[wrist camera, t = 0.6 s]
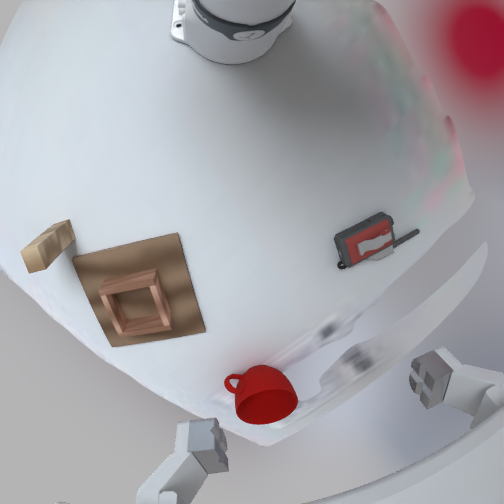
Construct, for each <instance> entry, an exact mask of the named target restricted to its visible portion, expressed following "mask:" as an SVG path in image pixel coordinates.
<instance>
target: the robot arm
mask: <svg viewBox="0 0 504 504" xmlns="http://www.w3.org/2000/svg"><path fill="white" fill-rule="evenodd" d="M295 1H296V0H174V6H173V14H172V22H171V32H170V35H171V37H172V38H173V39H174V40H177V41H179V42H182V43H186V44H188V45H189V46H191V47H192V48H193V49H194V50H195V51H196V52H198V53H199V54H200V55H202V56H203V57H205V58H207V59H209V60H211V61H214V62H218V63H223V64H241V63H246V62H249V61H252V60H255V59H257V58H259V57H260V56H262V55H263V54H265V53H266V52H267V51H268V50H269V49H270V48H271V47H272V45H273V44H274V42H275V40H276V38H277V37H278V35H279V34H280V33H282V32H283V31H285V30H286V29H288V28H289V27H290V25H291V23H292V19H291V17H290V16H291V14H292V13H293V11H294V4H295ZM177 25H182V26H181V27H180V28H177V27H176V26H177ZM411 367H412V368H413V370H412V372H411V373H410V376H409V381H410V386H411V388H412V390H413V391H414V393H416V394H419V395H420V401H421V402H422V403H423V405H424V406H425V407H426V409H429V408H431V407H433V406H435V405H437V404H439V403H441V402H443V403H445V404H448V405H450V406H452V407H454V408H456V409H459V410H461V411H463V412H465V413H468V414H470V415H472V416H475V417H474V419H473V421H472V423H471V425H470V428H471V430H470V431H469V432H467V433H465V434H464V435H462V436H461V437H459V438H458V439H456V440H454V441H453V442H451V443H450V444H448V445H446V446H445V447H443V448H441V449H440V450H438V451H436V452H434V453H432V454H431V455H429V456H427V457H425V458H423V459H421V460H420V461H417V462H415V463H413V464H411V465H409V466H407V467H405V468H403V469H401V470H399V471H397V472H395V473H392V474H390V475H388V476H386V477H383V478H381V479H378V480H376V481H373V482H371V483H368V484H365V485H363V486H360V487H357V488H355V489H352V490H349V491H346V492H343V493H340V494H336V495H333V496H330V497H326V498H323V499H319V500H315V501H312V502H308V503H304V504H504V373H500V372H495V371H491V370H487V369H482V368H478V367H474V366H470V365H466V364H465V365H462V364H461V363H460V362H459V361H457V359H456V358H455V357H454V356H453V355H452V354H451V353H450V352H449V351H448V350H446V349H445V348H444V347H442V346H440V347H439V348H436V349H434V350H432V351H430V352H428V353H426V354H424V355H422V356H420V357H418V358H415V359H413V361H412V363H411ZM226 451H227V442H226V437H225V434H224V432H223V430H222V429H221V428H219V422H218V420H217V418H209V419H200V420H191V421H181V422H179V423H178V425H177V432H176V440H175V450H174V453H171V454H170V455H169V456H168V457H167V458H166V459H165V461H164V462H163V463H162V464H161V465H160V466H159V467H158V468H157V469H156V471H155V472H154V473H153V474H152V475H151V476H150V477H149V478H148V479H147V480H146V481H145V482H144V484H143V485H142V486H141V487H140V488H139V489H138V492H137V497H136V504H190V503H191V502H192V500H193V498H194V497H195V495H196V494H197V492H198V490H199V489H200V487H201V486H202V484H203V482H204V481H205V479H206V478H207V476H208V474H212V473H219V472H227V471H229V470H228V458H227V456H226V454H225V452H226ZM54 504H69V503H65V502H56V503H54Z"/></svg>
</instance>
